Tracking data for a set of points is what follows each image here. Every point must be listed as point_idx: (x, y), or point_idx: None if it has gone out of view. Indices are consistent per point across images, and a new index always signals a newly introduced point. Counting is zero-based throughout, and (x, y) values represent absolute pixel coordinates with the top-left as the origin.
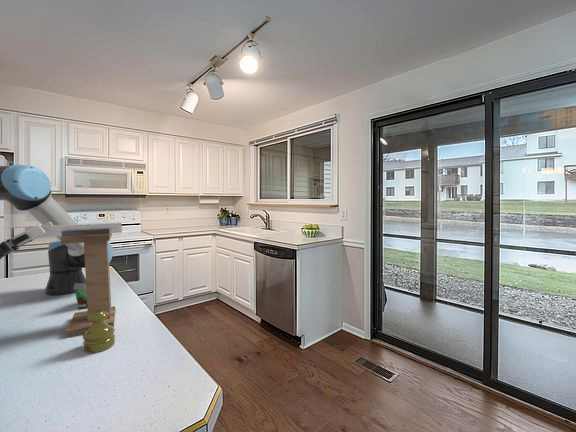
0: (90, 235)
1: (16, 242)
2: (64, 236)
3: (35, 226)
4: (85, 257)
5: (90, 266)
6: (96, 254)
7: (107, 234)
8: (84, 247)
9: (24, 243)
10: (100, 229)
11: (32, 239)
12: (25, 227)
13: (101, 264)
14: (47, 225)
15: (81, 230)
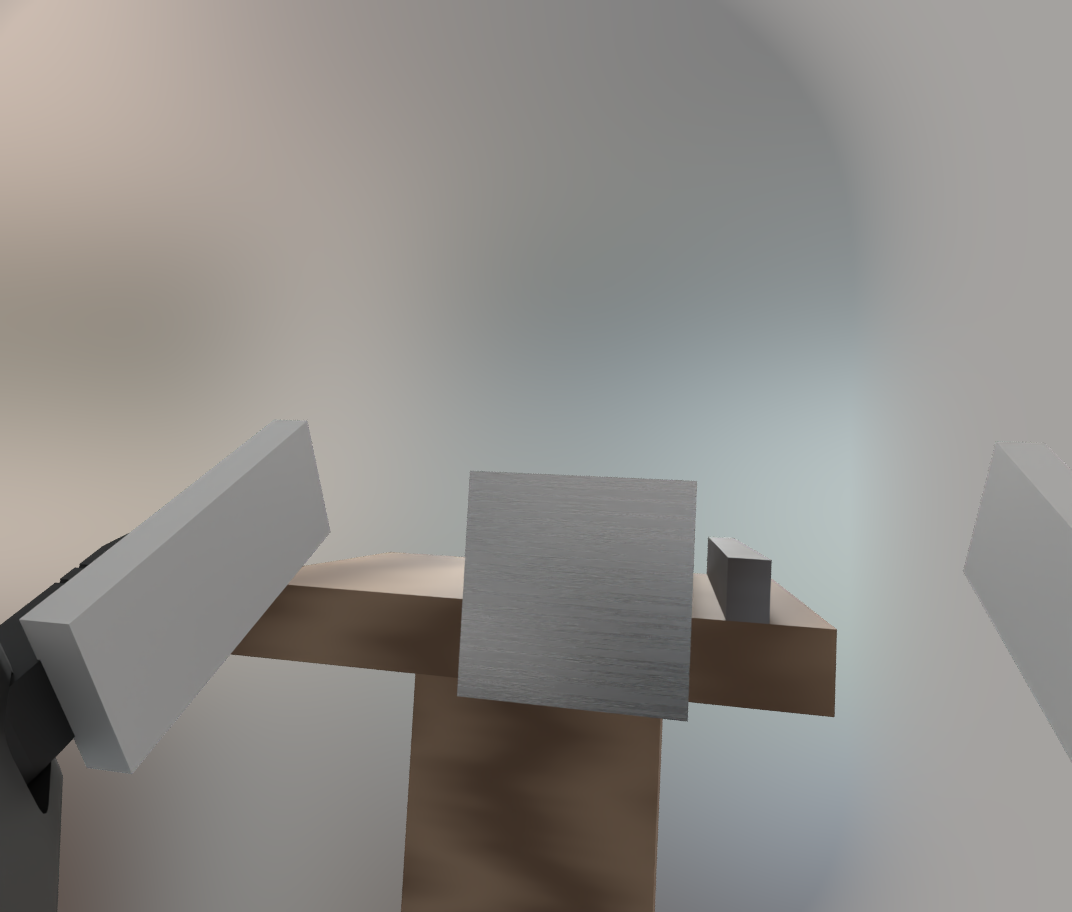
0: (788, 593)
1: None
2: (772, 619)
3: (1064, 468)
4: (654, 827)
5: (653, 906)
6: (659, 771)
7: (772, 580)
8: (660, 723)
9: (52, 909)
10: (734, 540)
11: (133, 759)
12: (664, 480)
13: (656, 854)
14: (287, 479)
15: (749, 548)
